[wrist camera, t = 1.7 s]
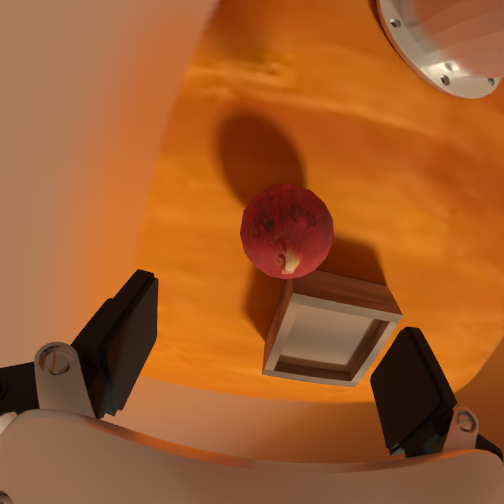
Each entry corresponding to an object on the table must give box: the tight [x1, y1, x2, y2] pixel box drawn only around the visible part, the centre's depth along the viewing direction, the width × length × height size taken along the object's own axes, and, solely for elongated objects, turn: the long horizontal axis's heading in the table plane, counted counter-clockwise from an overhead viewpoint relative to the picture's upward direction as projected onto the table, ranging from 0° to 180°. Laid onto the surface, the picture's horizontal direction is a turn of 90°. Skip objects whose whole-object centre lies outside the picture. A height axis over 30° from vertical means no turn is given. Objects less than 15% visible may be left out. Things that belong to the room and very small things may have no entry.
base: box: [262, 269, 402, 387], centre depth 23 cm, size 9×9×4 cm
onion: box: [240, 184, 334, 279], centre depth 17 cm, size 6×6×8 cm
